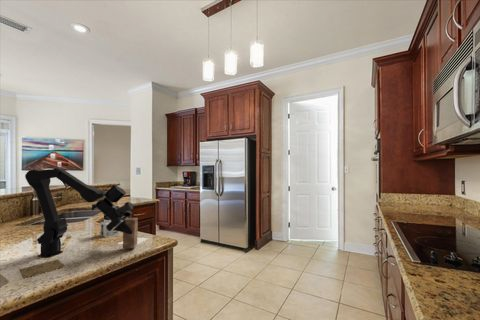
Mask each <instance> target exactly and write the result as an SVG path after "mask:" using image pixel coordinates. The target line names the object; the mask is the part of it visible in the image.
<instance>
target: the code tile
mask: <svg viewBox="0 0 480 320" xmlns="http://www.w3.org/2000/svg"><path fill="white" fill-rule="evenodd" d="M146 240H149V237H137V245H140V244H142V243H144V242H145V241H146ZM117 245H123V240H122V241H119V242H118V243H117ZM137 245H136V246H137Z"/></svg>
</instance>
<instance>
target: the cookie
mask: <svg viewBox="0 0 480 320" xmlns="http://www.w3.org/2000/svg"><path fill="white" fill-rule="evenodd" d="M63 267H65V268H66V266H65V265H64V263H62V262H61V261H60V260H59V259H58V258H57V259H54V260H50V261H46V262H42V263H37V264H33V265H31V266H27V267H23V268H19V273H20V275H22V278H23V279H25V278H26V279H29V278H33V277H37V276H39V274H40V275H42V273H44V274H46V272H47V273H51V272H53V270H54V271H57V270H56V269H58V270H61V269H64V268H63ZM60 268H61V269H60ZM36 275H37V276H36ZM32 276H33V277H32ZM26 279H25V280H26Z"/></svg>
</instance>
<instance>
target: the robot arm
mask: <svg viewBox="0 0 480 320" xmlns="http://www.w3.org/2000/svg"><path fill="white" fill-rule="evenodd" d="M24 177H25V180H26V182H27V183H28V185H29V186H30V187H31V188H32V189H33V190H34V191H35V194H36V197H37V200H38V204H39V205H40V209H41V212H42V215H43V218H44V223H43V227H42V229H43V233H42V235H40V236H38V238H37V239H36V242H37V244H38V245H40V254H38V255H37V257H43V258H51V257H53V256H56V255H59V254H61V253H63V252H64V250H62V249H61V248H62V241H61V238H63V237H64V235H65V233H67V231H68V226H69V224H68V223H67V220H66V218H65V217H64V218H61V217H60V216H59V214H58V210H57V208H56V207H57V206H56V204H55V201H54V198H53V194H52V192H51V190H50V184H51V179H54V178H56V179H58V180H60V181H61V182H62V183H64V184H66V185H67V186H69V187H70V188H72V189H73V190H75V192H78V193H79V195H80V197H81V198H82V199H83V200H84V201H85V202H87V203H92V204H91V211H95V210H98V211H99V212H101V213H102V214H103V218H104V217H105V218H109V219H110V220H111V222H110V223H109V224H108V225H107V226H106V229H107V230H108V231H109V232H110V231H111V230H112V229H113V228H114V227H115V229H114V230H116V231H120V233H123V232H124V233H127V234H132V233H133V232H132V231H131V230H130V229H129V227H128V226H127V225H126V221H125V219H126V218H132V214H133V212H132V211H131V210H133V209H134V204H133V203H132V202H130V201H126V202H125V203H124V205H123V206H119V205H117V206H116V205H115V203H116V204H117V203H118V202H119V201H120V200H121V199H122V198H123V197H124V196H125V195H127V192H126V191H125V190H124V189H123V188H121V187H120V186H118V185H117V184H113V185H112V186H111V187H110V189H108V190H107V191H102V190H101V189H100V188H97V187H95V186H92V185H88V184H87V183H85V182H84V181H82V180H80V179H79V178H77V177H76V176H74V175H73V174H71V173H69V172H68V171H67V170H65V169H64V168H62V167H61V168H60V167H59V168H57V167H56V168H53V169H43V168H42V169H37V168H36V169H30V170H28V171H27V172H26V174H25V176H24ZM94 202H96V203H94ZM104 215H105V216H104Z"/></svg>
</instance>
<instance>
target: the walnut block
mask: <svg viewBox="0 0 480 320" xmlns="http://www.w3.org/2000/svg"><path fill="white" fill-rule="evenodd" d="M138 220H139V218H138V217H131V218H126V219H125V221H126V225H127V226H128V227H129V229H130V230H131V231H132V232H133V233H132V234H127V233H124V232H122V241H123V244H122V249H134V248H136V246H137V238H138V231H139V229H138V226H139V225H138V223H139V221H138Z"/></svg>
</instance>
